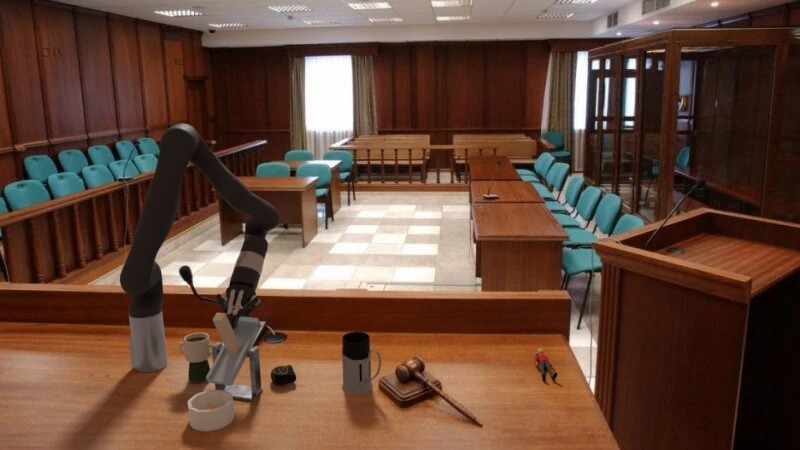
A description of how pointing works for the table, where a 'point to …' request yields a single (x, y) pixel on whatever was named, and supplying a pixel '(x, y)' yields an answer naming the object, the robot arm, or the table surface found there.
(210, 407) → the ball
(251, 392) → the stand
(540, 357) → the person figure
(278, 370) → the tape measure
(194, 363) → the character mug
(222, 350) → the tipping board
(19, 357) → the table surface
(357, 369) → the glass holder
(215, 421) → the cup
